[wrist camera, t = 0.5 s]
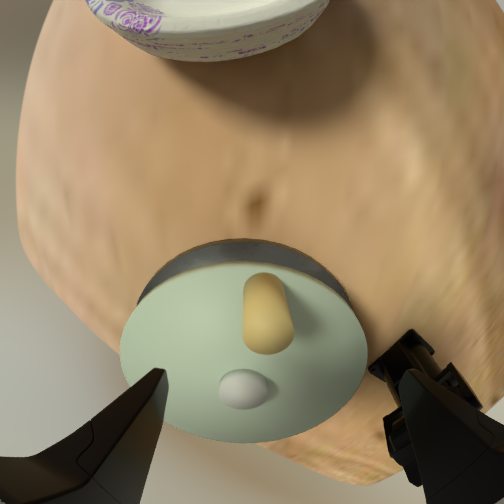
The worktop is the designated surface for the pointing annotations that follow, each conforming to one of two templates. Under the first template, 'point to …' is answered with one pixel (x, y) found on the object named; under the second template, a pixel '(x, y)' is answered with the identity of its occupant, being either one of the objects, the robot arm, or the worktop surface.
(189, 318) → the handwheel
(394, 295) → the worktop surface
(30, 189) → the worktop surface
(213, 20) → the paper bowls
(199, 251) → the grey metal shallow dish
